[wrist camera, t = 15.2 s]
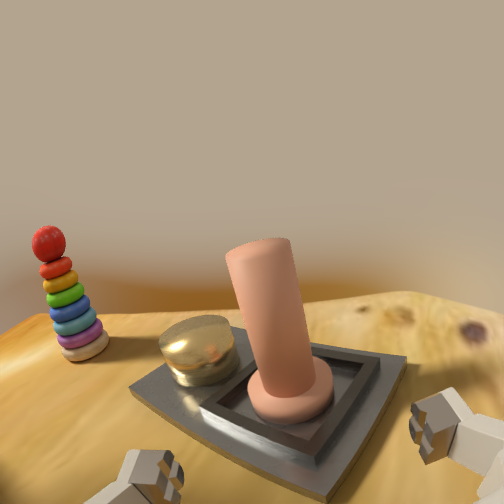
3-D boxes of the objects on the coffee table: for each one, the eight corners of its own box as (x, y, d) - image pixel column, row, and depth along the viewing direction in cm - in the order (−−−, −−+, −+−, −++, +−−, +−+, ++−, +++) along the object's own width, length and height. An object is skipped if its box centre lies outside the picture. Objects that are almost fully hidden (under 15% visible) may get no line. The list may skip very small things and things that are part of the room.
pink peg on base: (236, 408, 22) (185, 267, 19) (282, 363, 27) (250, 234, 24) (306, 435, 18) (268, 271, 15) (347, 377, 23) (327, 230, 19)
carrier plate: (132, 395, 28) (112, 356, 27) (224, 332, 38) (213, 296, 36) (327, 504, 13) (319, 463, 12) (406, 367, 23) (407, 317, 22)
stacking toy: (65, 370, 35) (12, 238, 30) (65, 348, 41) (21, 235, 37) (114, 350, 38) (66, 217, 34) (106, 331, 45) (66, 218, 40)
